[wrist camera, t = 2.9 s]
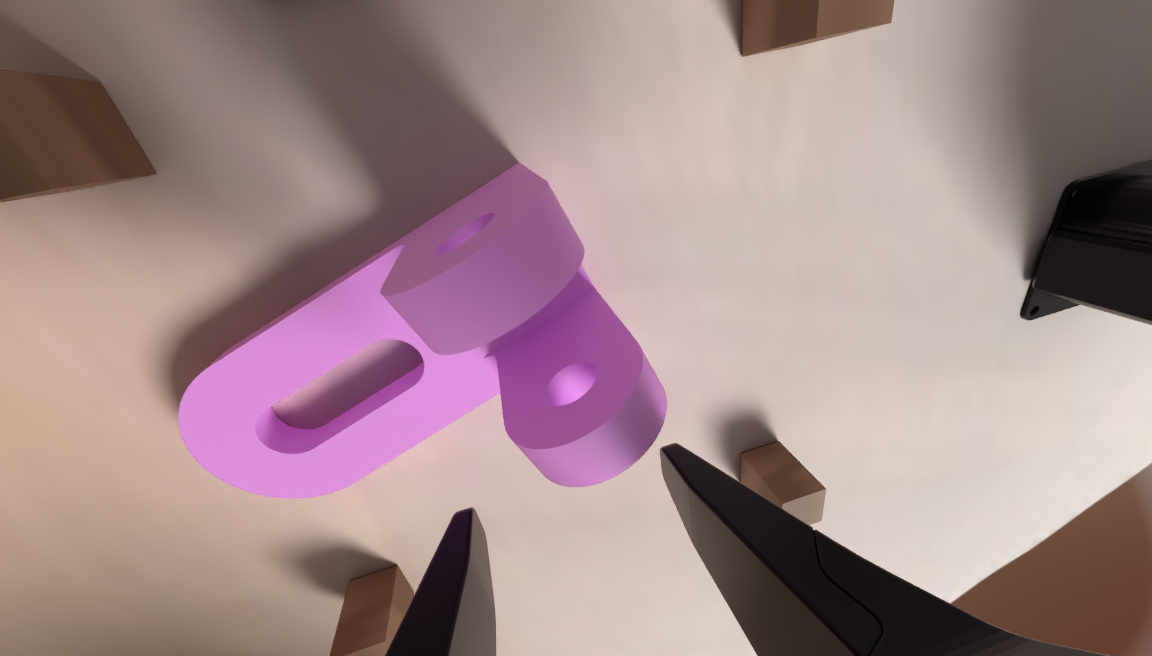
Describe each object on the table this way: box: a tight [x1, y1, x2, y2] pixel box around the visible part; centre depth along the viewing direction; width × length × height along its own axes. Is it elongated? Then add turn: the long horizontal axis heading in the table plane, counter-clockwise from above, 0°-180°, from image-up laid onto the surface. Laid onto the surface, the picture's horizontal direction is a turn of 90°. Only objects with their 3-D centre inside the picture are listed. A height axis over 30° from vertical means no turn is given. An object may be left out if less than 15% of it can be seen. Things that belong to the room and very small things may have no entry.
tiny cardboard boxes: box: [0, 0, 894, 656], centre depth 14 cm, size 20×20×3 cm
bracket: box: [178, 163, 667, 498], centre depth 11 cm, size 13×6×7 cm, turn 119°
